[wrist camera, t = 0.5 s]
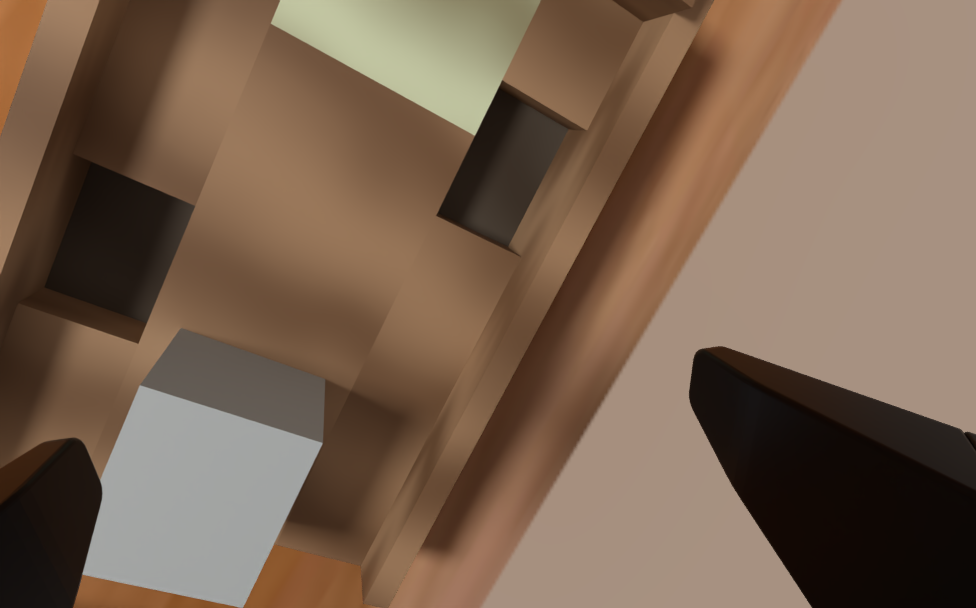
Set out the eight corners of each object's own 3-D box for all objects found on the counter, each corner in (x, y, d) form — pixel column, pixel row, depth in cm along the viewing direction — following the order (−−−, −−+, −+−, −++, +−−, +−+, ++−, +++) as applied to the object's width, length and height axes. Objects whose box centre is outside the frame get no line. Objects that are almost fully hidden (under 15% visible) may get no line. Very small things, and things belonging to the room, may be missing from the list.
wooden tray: (380, 539, 26) (390, 630, 22) (-43, 426, 21) (-150, 515, 16) (651, 18, 22) (734, -7, 18) (218, -289, 17) (175, -439, 12)
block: (259, 516, 22) (242, 608, 18) (117, 478, 21) (62, 570, 17) (325, 379, 21) (322, 443, 17) (180, 327, 20) (139, 385, 16)
